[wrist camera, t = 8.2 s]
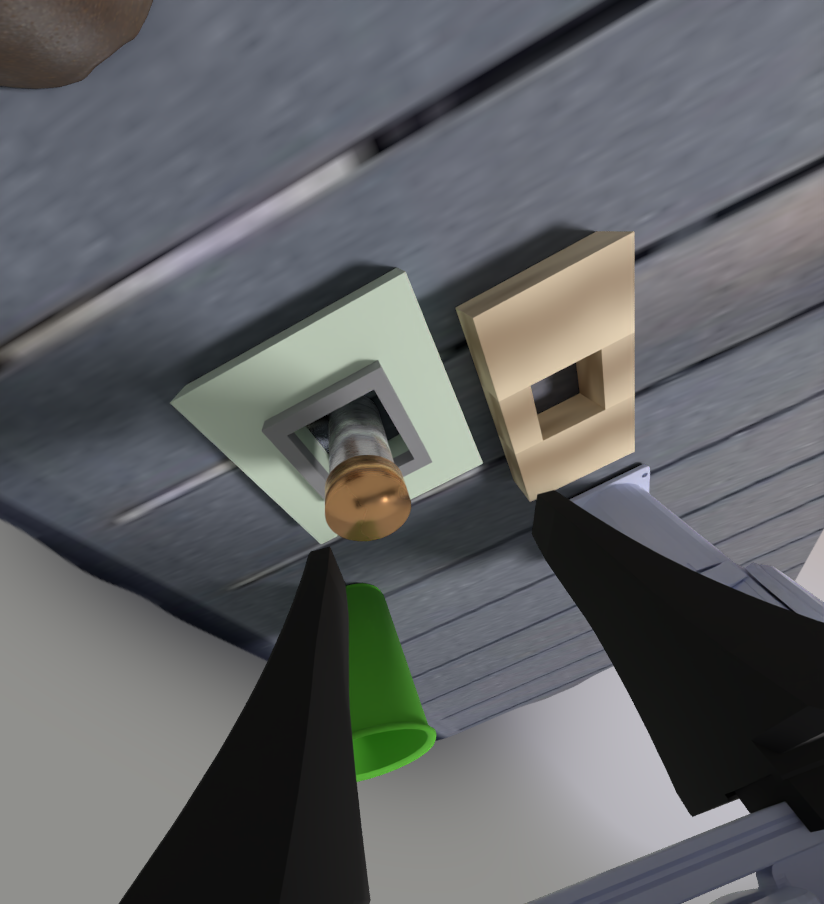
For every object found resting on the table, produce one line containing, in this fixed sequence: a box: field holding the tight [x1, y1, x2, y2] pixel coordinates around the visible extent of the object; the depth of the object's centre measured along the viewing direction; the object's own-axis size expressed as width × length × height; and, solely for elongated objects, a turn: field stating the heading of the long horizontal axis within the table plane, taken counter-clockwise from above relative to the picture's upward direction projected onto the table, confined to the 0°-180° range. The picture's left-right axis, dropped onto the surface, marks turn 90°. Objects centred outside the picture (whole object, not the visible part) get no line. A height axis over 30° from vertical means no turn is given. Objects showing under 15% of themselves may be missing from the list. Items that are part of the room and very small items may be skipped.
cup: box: [346, 583, 436, 782], centre depth 25 cm, size 9×9×11 cm
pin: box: [325, 396, 411, 541], centre depth 16 cm, size 3×3×8 cm
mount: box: [456, 231, 635, 502], centre depth 20 cm, size 14×8×2 cm, turn 24°
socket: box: [170, 268, 483, 544], centre depth 18 cm, size 12×12×3 cm
